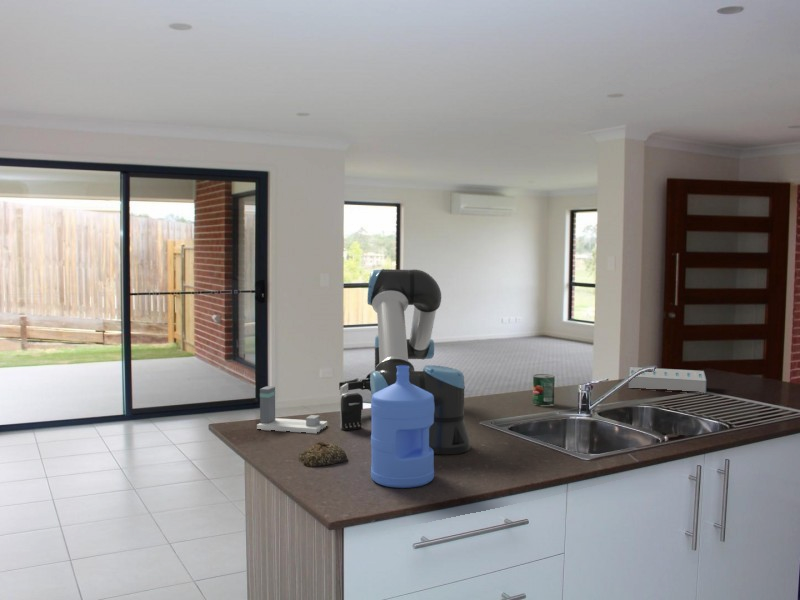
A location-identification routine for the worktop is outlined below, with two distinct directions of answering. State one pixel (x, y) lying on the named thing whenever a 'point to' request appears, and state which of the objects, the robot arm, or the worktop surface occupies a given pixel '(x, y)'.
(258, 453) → the worktop surface
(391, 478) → the water jug
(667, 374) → the dotted white bar
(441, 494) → the worktop surface
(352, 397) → the battery charger
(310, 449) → the bread roll
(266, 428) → the mount
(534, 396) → the canned tomato
